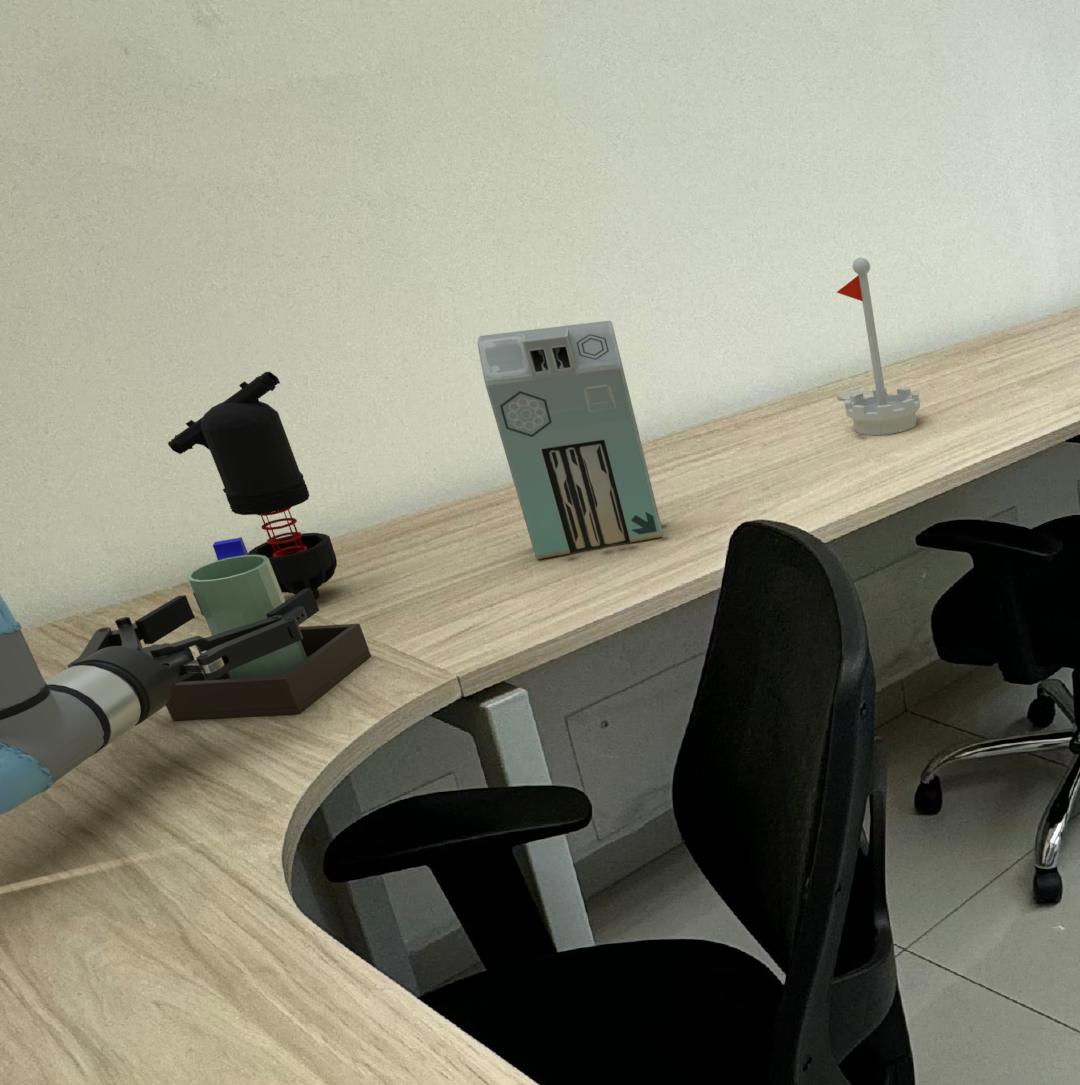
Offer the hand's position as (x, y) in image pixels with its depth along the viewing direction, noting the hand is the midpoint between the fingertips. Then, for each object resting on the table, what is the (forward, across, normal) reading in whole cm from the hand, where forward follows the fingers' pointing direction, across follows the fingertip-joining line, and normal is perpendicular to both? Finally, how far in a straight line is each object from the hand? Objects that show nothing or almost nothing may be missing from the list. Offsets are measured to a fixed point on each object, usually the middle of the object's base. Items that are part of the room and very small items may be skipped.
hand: (249, 602), depth 137 cm
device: (+40, +20, -10) cm, 46 cm away
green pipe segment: (-1, 0, -9) cm, 9 cm away
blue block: (+27, -22, -10) cm, 36 cm away
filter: (+24, -13, -10) cm, 29 cm away
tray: (-1, 0, -10) cm, 10 cm away
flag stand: (+91, +52, -10) cm, 105 cm away
